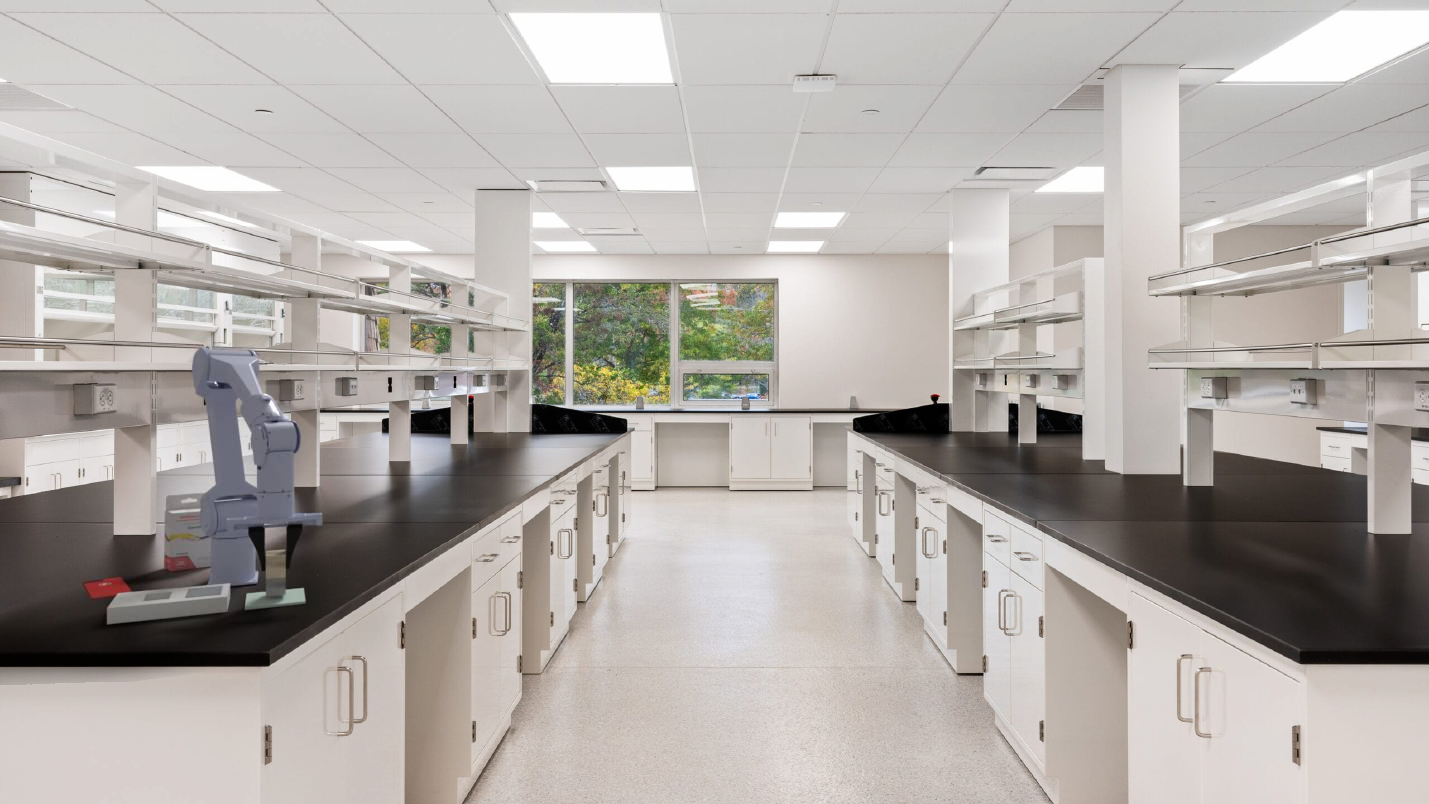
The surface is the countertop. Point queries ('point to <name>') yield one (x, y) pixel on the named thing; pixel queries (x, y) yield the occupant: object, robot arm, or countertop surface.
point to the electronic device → (106, 587)
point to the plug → (275, 573)
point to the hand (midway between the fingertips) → (275, 569)
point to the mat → (274, 599)
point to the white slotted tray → (168, 603)
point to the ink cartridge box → (185, 534)
